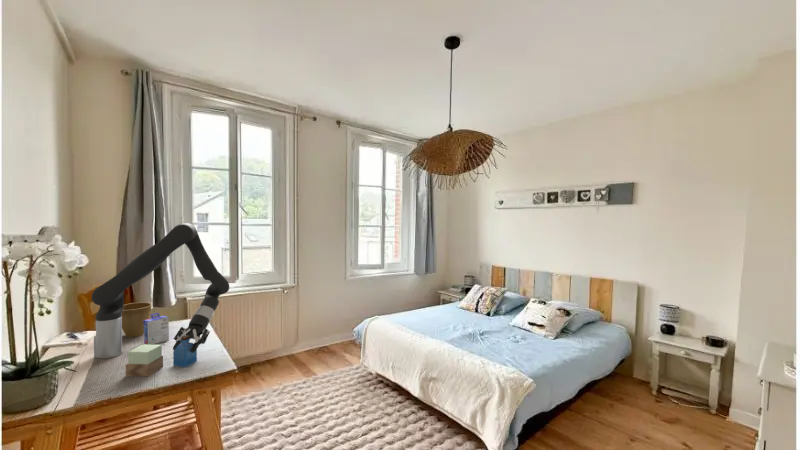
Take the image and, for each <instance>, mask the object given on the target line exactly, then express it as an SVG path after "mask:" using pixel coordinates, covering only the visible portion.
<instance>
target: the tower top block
mask: <svg viewBox="0 0 800 450" xmlns="http://www.w3.org/2000/svg"><path fill="white" fill-rule="evenodd" d="M162 346H163V345H162V344H152V345H146V344H144V343H143V344H141V345H139V346H138V347H135V348H133V349H131V350H129V351H128V352H127V353H128V356H127V359H128V360H127V362H128V363H127V364H149V363H151V362H153V361H154V360H156V359H158V358H160V357H161V356H163V355H162V354H163V352H162V350H163V349H162V348H163V347H162Z"/></svg>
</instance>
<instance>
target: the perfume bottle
mask: <svg viewBox="0 0 800 450" xmlns="http://www.w3.org/2000/svg"><path fill="white" fill-rule="evenodd" d="M190 341H191V339H190V338H189V335H185V336H182V337H181V344H179V345H177V347H176V348H175V350H173V356H172V357H173V361H172V362H173V366H175V367H182V368H183V367H184V368H187V367H189V366H190V365H192V364H194V363H196V362H197V361H198V352H197V351H198V349H197V350H196V351H195V352H194V353H192V352H190V349H191V348H192V346H193V344H194V342H190Z"/></svg>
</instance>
